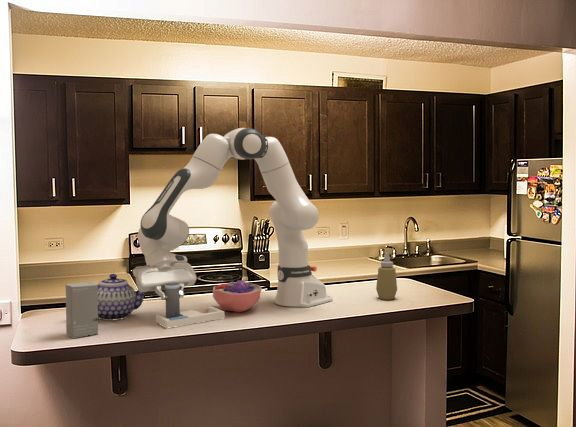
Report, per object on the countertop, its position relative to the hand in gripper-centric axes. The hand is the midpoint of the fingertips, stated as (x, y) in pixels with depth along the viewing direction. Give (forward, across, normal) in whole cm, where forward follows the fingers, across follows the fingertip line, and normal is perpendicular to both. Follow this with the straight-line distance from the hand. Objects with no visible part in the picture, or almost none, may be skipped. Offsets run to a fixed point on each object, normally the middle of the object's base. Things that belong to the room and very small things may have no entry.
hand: (173, 297), depth 195 cm
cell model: (+4, +26, +9) cm, 28 cm away
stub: (+4, 0, +5) cm, 6 cm away
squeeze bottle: (+17, +82, -5) cm, 84 cm away
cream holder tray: (+6, +6, +6) cm, 11 cm away
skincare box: (+2, -28, +10) cm, 30 cm away
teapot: (-8, -13, +21) cm, 26 cm away
